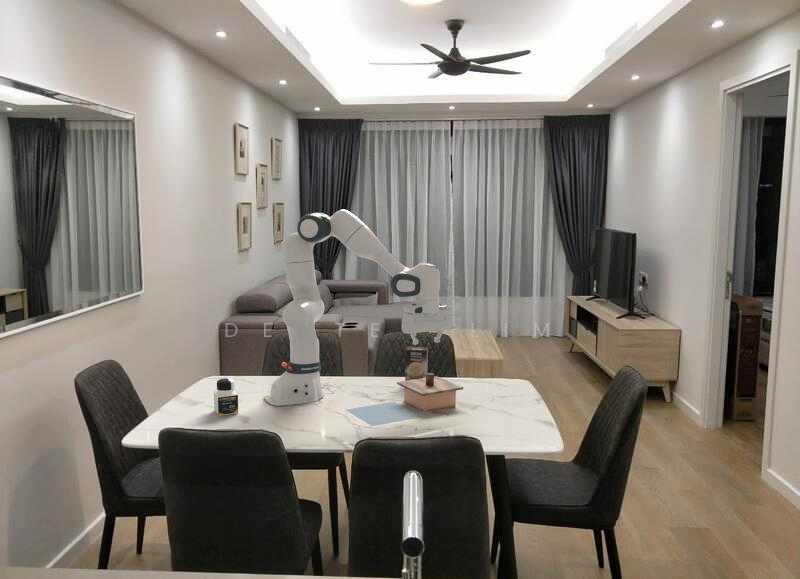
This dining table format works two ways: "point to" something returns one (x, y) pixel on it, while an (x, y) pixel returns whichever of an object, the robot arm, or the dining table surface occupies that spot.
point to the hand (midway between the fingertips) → (426, 343)
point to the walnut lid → (429, 385)
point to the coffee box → (416, 363)
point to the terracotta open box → (430, 400)
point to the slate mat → (383, 413)
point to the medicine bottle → (225, 397)
